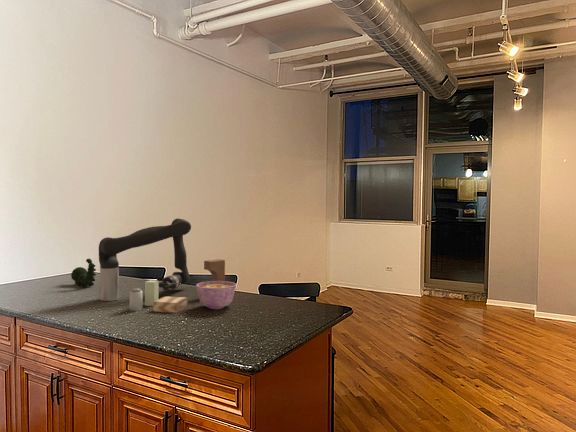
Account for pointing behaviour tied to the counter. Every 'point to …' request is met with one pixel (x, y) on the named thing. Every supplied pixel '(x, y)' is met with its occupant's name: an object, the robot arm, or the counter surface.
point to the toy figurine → (84, 275)
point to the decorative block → (216, 269)
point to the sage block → (151, 292)
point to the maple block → (170, 304)
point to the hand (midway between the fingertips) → (158, 288)
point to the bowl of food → (216, 293)
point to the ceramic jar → (136, 299)
